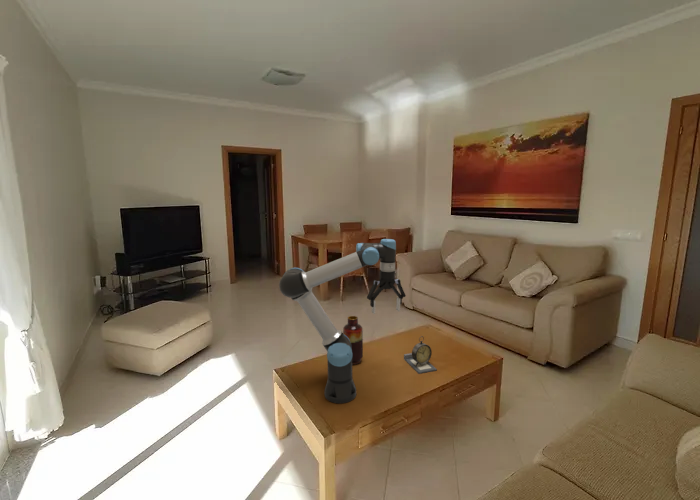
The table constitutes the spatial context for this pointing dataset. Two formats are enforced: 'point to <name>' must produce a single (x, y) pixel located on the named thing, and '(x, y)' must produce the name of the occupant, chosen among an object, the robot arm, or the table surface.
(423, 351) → the alarm clock
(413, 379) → the table surface
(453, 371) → the table surface
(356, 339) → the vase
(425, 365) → the mat
